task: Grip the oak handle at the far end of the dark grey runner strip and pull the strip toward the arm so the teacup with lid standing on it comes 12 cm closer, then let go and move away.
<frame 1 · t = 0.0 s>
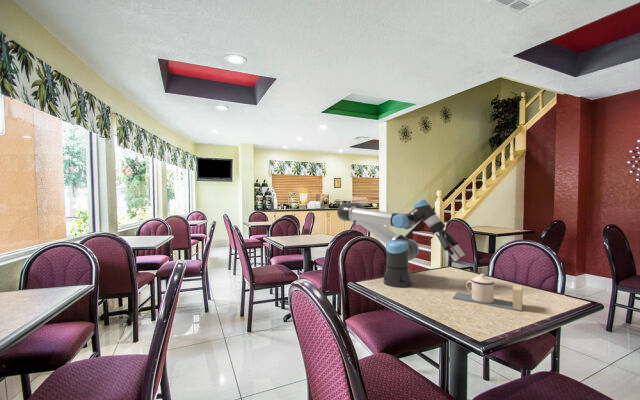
hand: (460, 258, 148), 15 cm above the table, tool tilted 35°, fingers open, 13 cm apart
teacup with lid: (479, 299, 129), resting on runner
runner: (486, 292, 127), point 4 cm above the table, slide at 0.1 cm, touching teacup with lid
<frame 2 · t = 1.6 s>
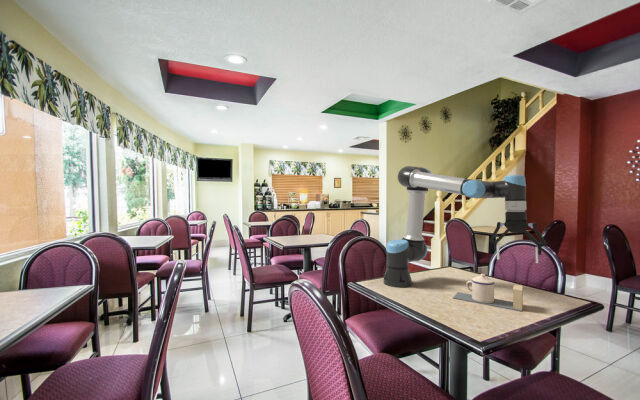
hand: (516, 260, 120), 20 cm above the table, tool pointing down, fingers open, 13 cm apart
nothing on the table moved.
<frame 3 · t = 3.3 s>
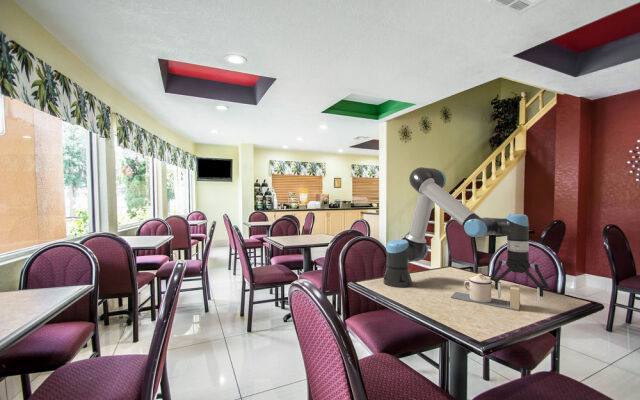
hand: (518, 300, 120), 3 cm above the table, tool pointing down, fingers open, 13 cm apart
teacup with lid: (477, 299, 129), resting on runner, touching gripper
runner: (484, 291, 127), point 4 cm above the table, slide at 1.0 cm, touching teacup with lid
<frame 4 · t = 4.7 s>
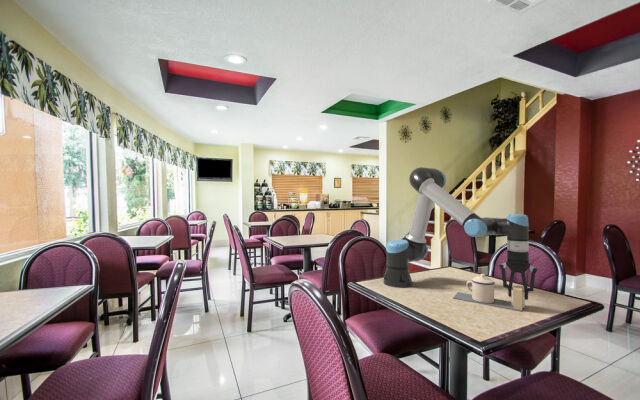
hand: (518, 305, 120), 1 cm above the table, tool pointing down, fingers closed on runner, 3 cm apart
teacup with lid: (479, 299, 129), resting on runner
runner: (486, 292, 127), point 4 cm above the table, slide at 0.0 cm, touching gripper, teacup with lid
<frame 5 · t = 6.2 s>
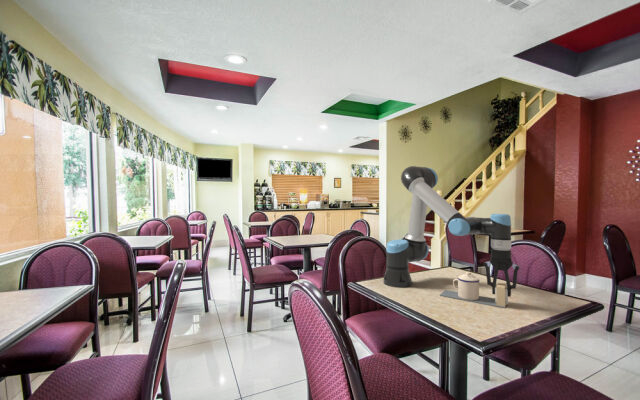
hand: (501, 302, 123), 1 cm above the table, tool pointing down, fingers closed on runner, 3 cm apart
teacup with lid: (465, 296, 132), resting on runner
runner: (472, 289, 130), point 4 cm above the table, slide at 5.9 cm, touching gripper, teacup with lid
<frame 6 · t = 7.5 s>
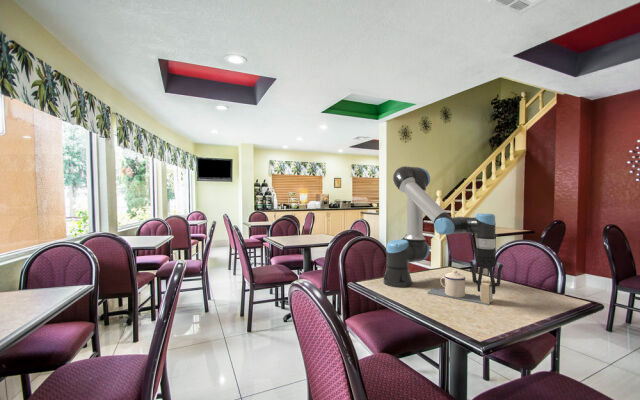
hand: (486, 299, 127), 1 cm above the table, tool pointing down, fingers closed on runner, 3 cm apart
teacup with lid: (452, 294, 136), resting on runner
runner: (458, 287, 134), point 4 cm above the table, slide at 11.7 cm, touching gripper, teacup with lid
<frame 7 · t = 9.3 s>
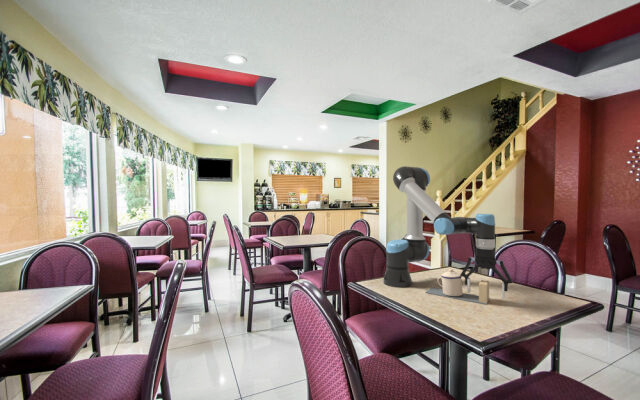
hand: (485, 295, 127), 3 cm above the table, tool pointing down, fingers open, 13 cm apart
teacup with lid: (450, 293, 136), resting on runner, touching gripper
runner: (456, 286, 135), point 4 cm above the table, slide at 12.6 cm, touching teacup with lid
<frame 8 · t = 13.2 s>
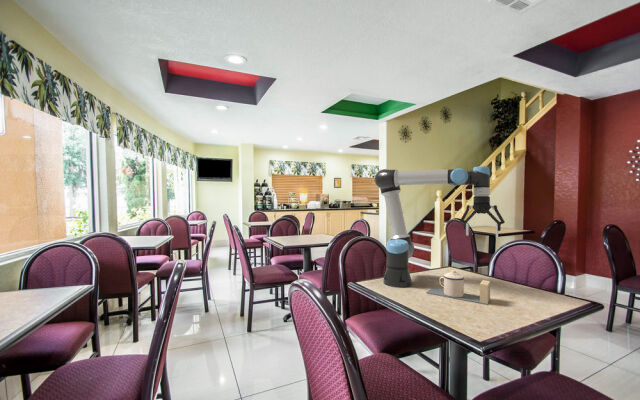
hand: (481, 236, 148), 27 cm above the table, tool pointing down, fingers open, 13 cm apart
teacup with lid: (450, 294, 136), resting on runner
runner: (457, 287, 134), point 4 cm above the table, slide at 12.2 cm, touching teacup with lid
at the end: teacup with lid inside the target area (0.1 cm from its centre), resting on runner; teacup with lid tilted 0°; runner slide at 12.2 cm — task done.
